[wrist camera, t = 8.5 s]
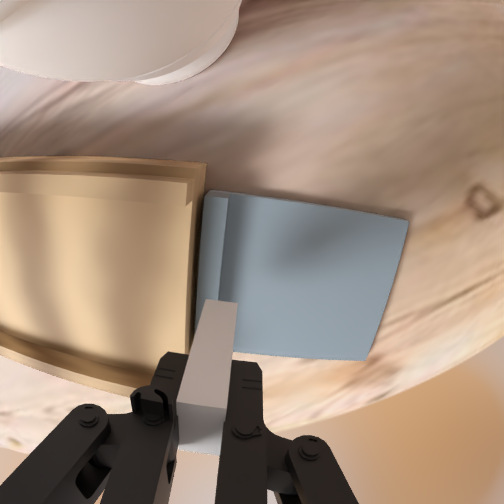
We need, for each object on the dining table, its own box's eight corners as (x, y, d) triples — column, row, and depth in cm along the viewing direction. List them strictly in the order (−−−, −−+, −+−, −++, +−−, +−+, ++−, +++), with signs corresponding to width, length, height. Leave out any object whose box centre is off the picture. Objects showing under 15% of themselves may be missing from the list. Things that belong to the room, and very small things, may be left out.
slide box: (-9, 312, 21) (-40, 340, 17) (-28, 159, 17) (-71, 169, 12) (192, 363, 22) (180, 412, 17) (206, 163, 17) (188, 171, 13)
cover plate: (199, 336, 22) (193, 360, 19) (211, 188, 18) (204, 195, 16) (361, 351, 22) (371, 373, 20) (401, 216, 19) (420, 228, 16)
